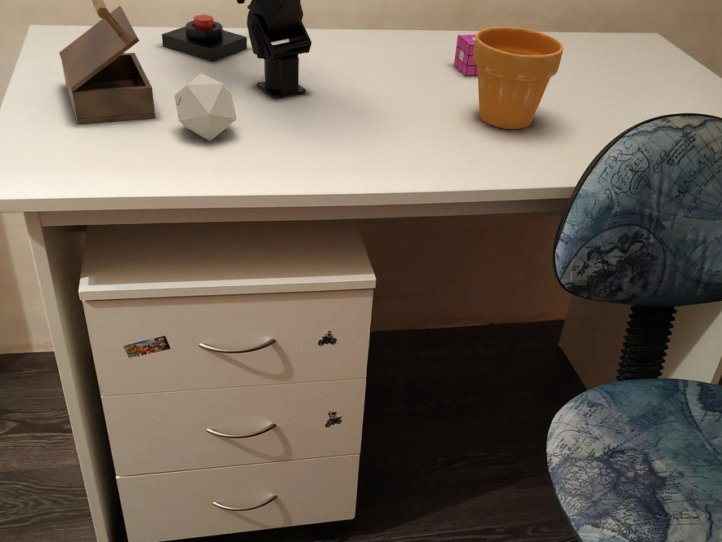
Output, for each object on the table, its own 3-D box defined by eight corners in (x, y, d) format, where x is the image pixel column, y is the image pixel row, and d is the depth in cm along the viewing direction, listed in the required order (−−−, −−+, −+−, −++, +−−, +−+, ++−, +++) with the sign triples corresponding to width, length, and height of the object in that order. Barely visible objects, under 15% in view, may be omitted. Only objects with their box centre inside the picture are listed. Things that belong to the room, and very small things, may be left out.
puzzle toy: (492, 74, 153) (497, 44, 150) (465, 76, 152) (470, 45, 148) (479, 64, 157) (484, 34, 154) (453, 65, 155) (457, 34, 152)
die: (195, 120, 128) (157, 78, 119) (243, 95, 126) (208, 50, 117) (202, 160, 124) (163, 119, 115) (252, 135, 122) (217, 92, 113)
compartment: (138, 81, 136) (134, 52, 133) (155, 118, 126) (152, 87, 123) (66, 86, 132) (60, 56, 129) (77, 124, 122) (72, 92, 119)
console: (247, 48, 153) (246, 26, 150) (213, 62, 146) (211, 39, 143) (198, 34, 157) (196, 12, 154) (162, 46, 150) (160, 23, 147)
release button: (218, 27, 150) (217, 17, 149) (205, 32, 147) (204, 21, 146) (202, 23, 151) (202, 13, 150) (190, 27, 149) (189, 17, 147)
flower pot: (489, 96, 145) (502, 20, 136) (560, 119, 139) (578, 42, 131) (448, 118, 135) (459, 38, 127) (522, 144, 130) (538, 62, 121)
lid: (122, 8, 128) (99, -21, 124) (139, 41, 118) (115, 10, 114) (61, 55, 129) (37, 27, 125) (73, 91, 119) (46, 63, 115)
